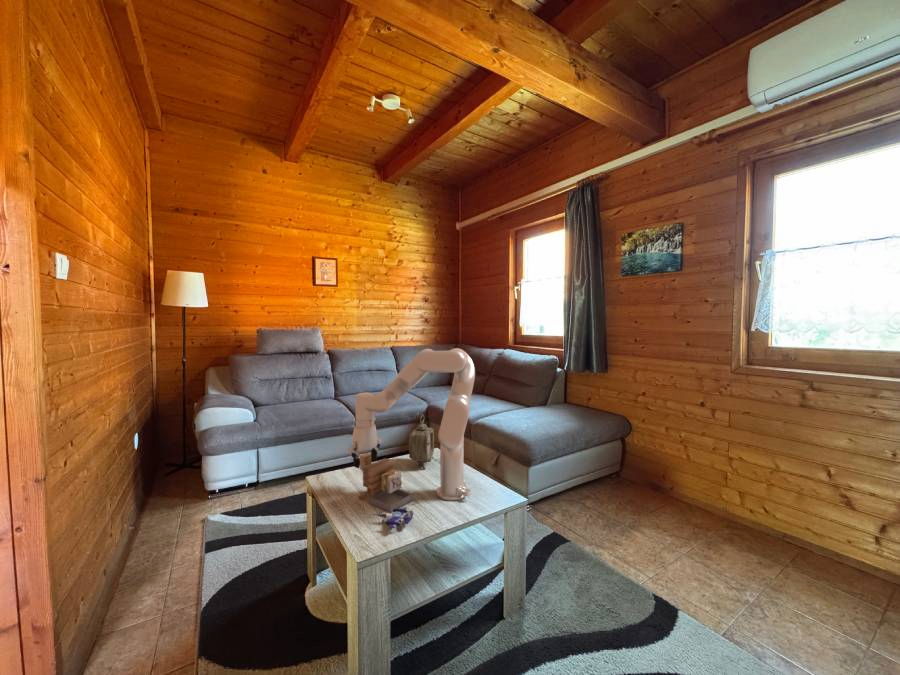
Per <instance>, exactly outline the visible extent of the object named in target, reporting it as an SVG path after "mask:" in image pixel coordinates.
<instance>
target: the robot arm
mask: <svg viewBox="0 0 900 675" xmlns="http://www.w3.org/2000/svg"><path fill="white" fill-rule="evenodd" d="M429 373H431V374H432V373H433V374H434V373H437V374H438V373H454V374H453V375H454V376H453V380H452V385H451V388H450V392H449V396H448V398H447V400H446V402H445V407H444V409H443V415H442V419H441V422H440V426H439V431H438V437H437V438H438V441H439V443H440V450H439V451H440V454H439V455H440V456H439V457H440V459H439V460H440V461H439V462H440V464H439V465H440V470H439V471H440V472H439V474H440V475H439V478H440V480H439V481H440V483H439V484H440V486H439V487H437V489H436V495H437V497H438V498H440V499H442V500H445V501H460V500H462V499H464V498H465V497H468V498H469V497H470V496H471V491H472V490H471V489H470V488H468V487H467V486H466V485H467V483H465V481H464V453H465V452H464V446H465V445H464V442H465V441H464V440H465V436H464V435H465V432H466V428H467V423H468V420H469V417H470V416H469V415H470V409H471V399H472V398H471V397H472V393H473V390H474V385H475V378H476V368H475V364H474V362H473V359H472V358H471V357H470V355H469V354H468V353H467V352H466V351H464V349H462V348H458V347H455V348H452V349H449V350H433V349H431V348H425V349H423V350H420V351H419V352H418V353H417V354H416V356H414V358H413V359H411V361H409V362H408V363H407V364H406V365H405V366H404V367H403V368H402V369H401V370H400V371H399V372H398V374H397V375H396V377H395V378H394V379H393V380H392V381H391V382H390V383H389V384H388V385H387V386H386V387H384V389H383V390H382V391H381V392H379V393H378V394H373V393H372V392H366V391H364V392H359V393H357V394H356V395H355V427H354V428H353V431H352V432H353V433H352V441H351V442H352V443H351V446H350V447H348V449H347V452H348V455H349V456H351V458H353V459H352V460H353V462H352V463H353V464H352V465H353V467H354V468H357V469H360V455H361V453H364V452H367V451H370V450H371V451H370V454H371V461H375V462H377V461H378V451H379V448H380V446H381V443H382V439H383V438H380V437H378V433H377V427H376V424H375V421H376V419H377V418H376V417H375V413H377V414H378V413H379V414H383V413H386V412H388V411H389V410H390V409H391V407H392V406H393V405H395V403H397V401H399V399H401V398H402V397H403V396H404V395H405V394H406V393H407V392H408V391H410V390H411V389H414V387H416V385H417V384H419V383H420V382H421V381H422V380H423V379H424V378H425V377H426V376H427V375H428V374H429Z"/></svg>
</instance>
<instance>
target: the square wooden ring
mask: <svg viewBox="0 0 900 675" xmlns="http://www.w3.org/2000/svg"><path fill="white" fill-rule="evenodd" d="M394 479H399V480H401V481H402V472H400V471H397V472H395V474H393V475H391V476H389V477H387V483H388V493H392V492H394V491H396V490H398V489H401V488H402V484H401V485H400V486H399V485H396V484H395V485H394V486H393V480H394Z"/></svg>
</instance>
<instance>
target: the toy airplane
mask: <svg viewBox="0 0 900 675" xmlns="http://www.w3.org/2000/svg"><path fill="white" fill-rule="evenodd" d="M371 515H373V516H378V517H381V518H383V519H382V520H381V523H382V524H385V525H386V526H389V528H390V529H391V528H392V529H396V527H400V528H401V529H403V528H404V525H403V524H405V525H408V524H410V522H411V520H413V517H414V516H413V515H414V512H413V511H412V510H407V507H406V506H403V507H401V508H399V509H394V510H393V512H392V513H388V512H386V511H384V512H381V513H378V514H375V513H371ZM385 519H388V520H387V521H385Z"/></svg>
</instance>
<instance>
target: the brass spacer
mask: <svg viewBox="0 0 900 675" xmlns="http://www.w3.org/2000/svg"><path fill="white" fill-rule="evenodd" d="M395 473H396V470H395V469H394V470H391V471H388V472H386V473H384V474H382V475H381V490H383V491H385V490H387V489H388V483H387V484H386V478H387V477H389V476H391V475H393V474H395ZM394 485H396V484H393V486H394Z"/></svg>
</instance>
